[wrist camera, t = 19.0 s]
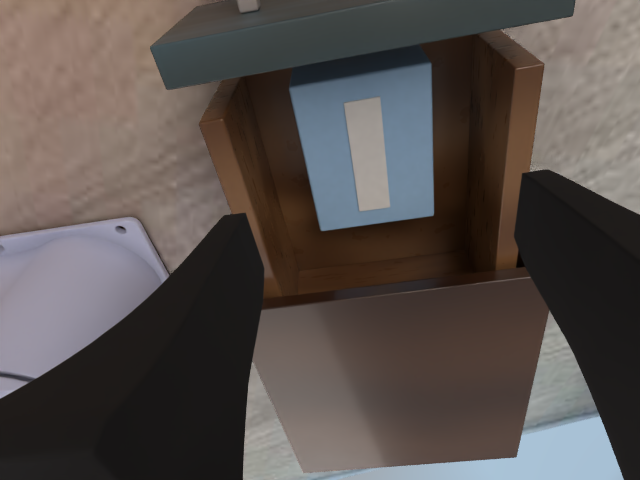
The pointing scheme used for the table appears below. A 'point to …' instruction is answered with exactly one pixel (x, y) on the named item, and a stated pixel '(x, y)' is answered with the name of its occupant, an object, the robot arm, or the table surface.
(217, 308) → the robot arm
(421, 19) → the drawer
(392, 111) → the tissue pack
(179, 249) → the table surface
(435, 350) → the cabinet
